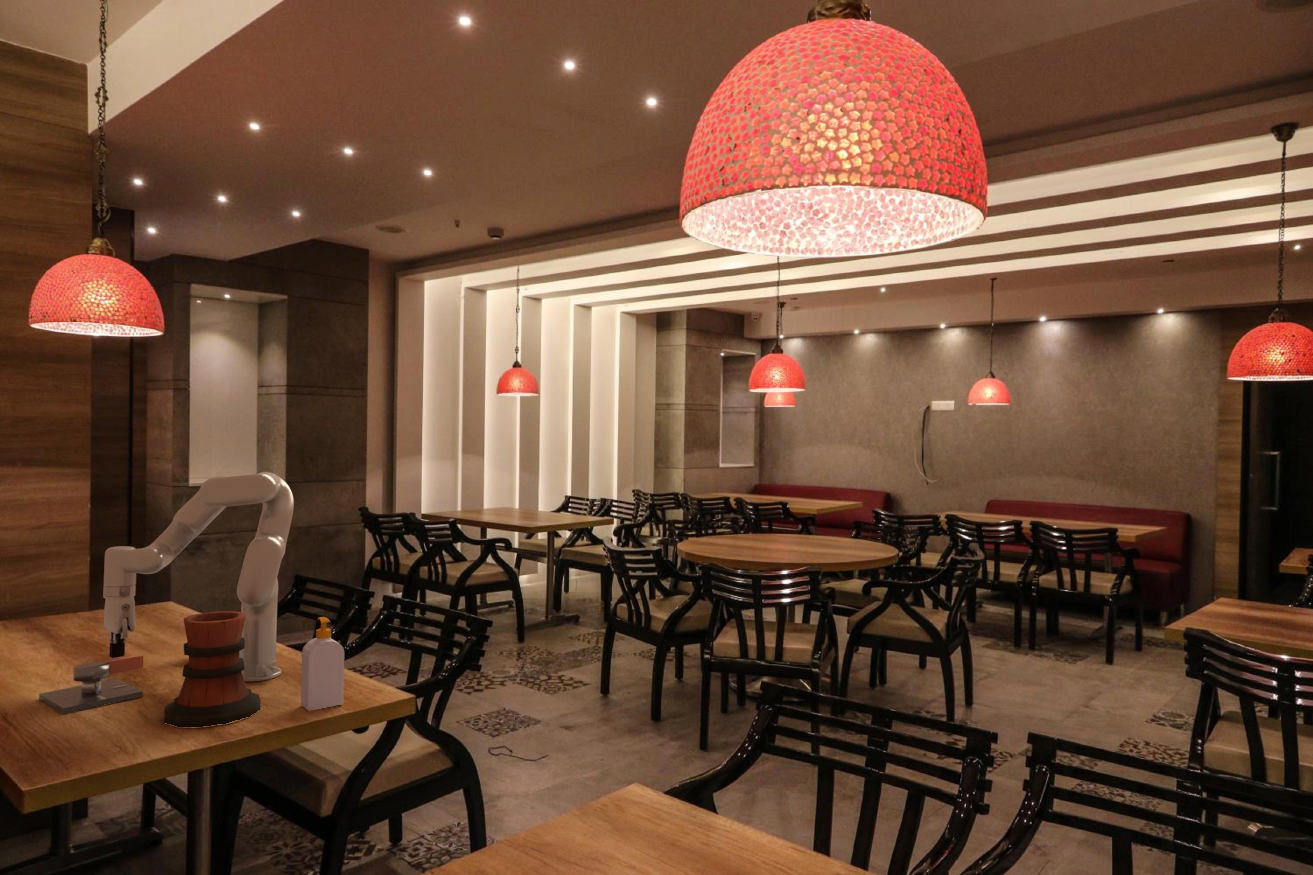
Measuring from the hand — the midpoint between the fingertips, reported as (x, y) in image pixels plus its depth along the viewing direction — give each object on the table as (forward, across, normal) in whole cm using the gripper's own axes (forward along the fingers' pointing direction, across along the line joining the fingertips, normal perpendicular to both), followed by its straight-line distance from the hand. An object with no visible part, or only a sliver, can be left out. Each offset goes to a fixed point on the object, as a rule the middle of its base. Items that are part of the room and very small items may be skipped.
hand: (116, 656), depth 226 cm
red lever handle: (+3, -7, +4) cm, 8 cm away
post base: (+8, -7, +8) cm, 13 cm away
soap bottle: (+8, -58, -28) cm, 65 cm away
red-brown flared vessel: (+8, -42, -8) cm, 43 cm away
